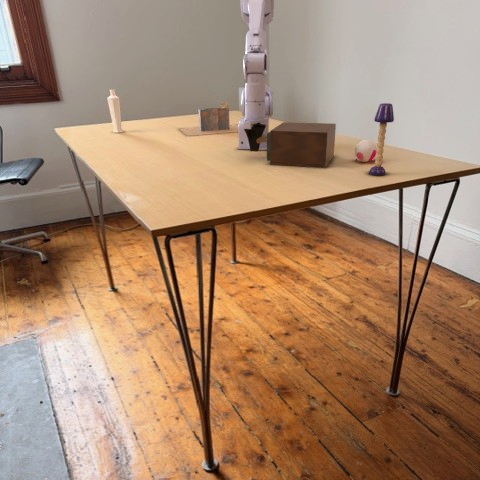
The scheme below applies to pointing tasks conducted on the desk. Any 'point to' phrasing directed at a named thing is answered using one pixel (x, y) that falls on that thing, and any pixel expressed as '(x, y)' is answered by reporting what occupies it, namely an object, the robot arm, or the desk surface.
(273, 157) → the cabinet
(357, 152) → the stress ball
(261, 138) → the drawer
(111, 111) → the perfume bottle
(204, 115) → the architectural model on board
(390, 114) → the toy lamp
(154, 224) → the desk surface
